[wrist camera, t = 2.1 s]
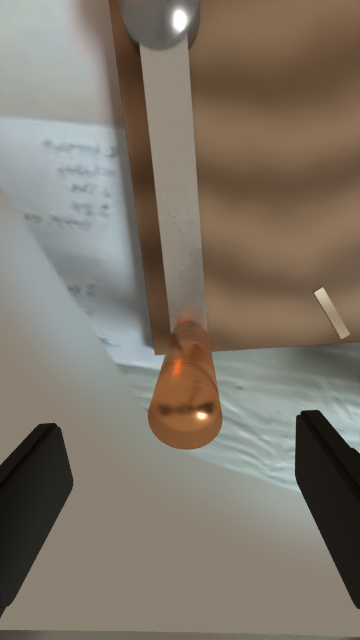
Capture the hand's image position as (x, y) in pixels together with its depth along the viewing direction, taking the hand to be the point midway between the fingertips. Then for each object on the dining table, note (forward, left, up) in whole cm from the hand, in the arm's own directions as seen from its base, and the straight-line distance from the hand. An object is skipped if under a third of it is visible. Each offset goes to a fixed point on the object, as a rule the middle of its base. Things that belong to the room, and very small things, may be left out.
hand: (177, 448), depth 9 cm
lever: (-12, 0, -13) cm, 17 cm away
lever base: (-12, +7, -14) cm, 20 cm away
